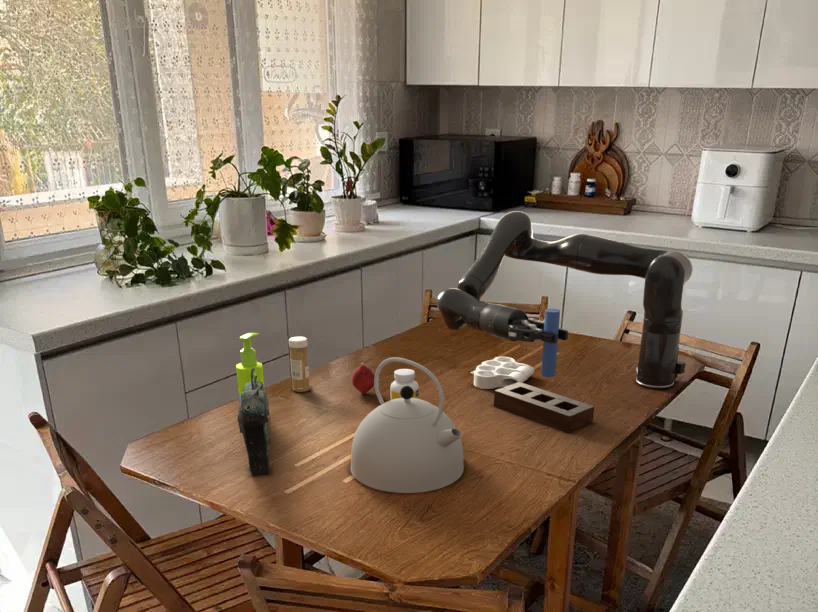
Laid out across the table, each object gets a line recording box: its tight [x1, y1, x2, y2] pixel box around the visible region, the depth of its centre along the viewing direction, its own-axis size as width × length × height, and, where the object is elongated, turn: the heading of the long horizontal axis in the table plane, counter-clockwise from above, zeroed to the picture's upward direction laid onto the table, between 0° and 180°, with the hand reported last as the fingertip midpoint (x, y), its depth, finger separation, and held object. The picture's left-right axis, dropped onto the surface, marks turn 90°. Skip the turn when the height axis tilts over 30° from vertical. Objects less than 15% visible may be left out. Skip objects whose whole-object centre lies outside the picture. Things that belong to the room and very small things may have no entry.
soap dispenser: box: [235, 331, 265, 395], centre depth 177 cm, size 6×7×20 cm
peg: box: [540, 308, 561, 378], centre depth 175 cm, size 3×3×15 cm
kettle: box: [350, 356, 465, 494], centre depth 152 cm, size 25×23×23 cm
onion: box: [351, 362, 375, 395], centre depth 194 cm, size 6×6×8 cm
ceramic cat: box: [237, 368, 271, 476], centre depth 157 cm, size 20×6×20 cm, turn 9°
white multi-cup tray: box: [470, 356, 536, 390], centre depth 204 cm, size 3×18×15 cm
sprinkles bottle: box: [288, 335, 311, 393], centre depth 196 cm, size 5×5×13 cm
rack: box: [493, 382, 595, 434], centre depth 182 cm, size 9×22×4 cm, turn 42°
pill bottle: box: [389, 368, 420, 400], centre depth 177 cm, size 6×6×12 cm
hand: (561, 337), depth 172 cm, fingers closed on peg, 3 cm apart
